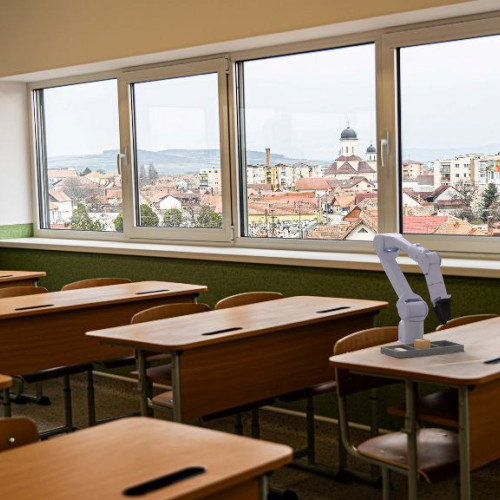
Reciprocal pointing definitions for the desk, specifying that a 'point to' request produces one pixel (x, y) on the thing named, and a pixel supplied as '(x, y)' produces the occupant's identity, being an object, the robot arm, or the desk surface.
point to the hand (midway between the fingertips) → (445, 322)
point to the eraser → (400, 349)
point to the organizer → (435, 348)
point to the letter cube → (421, 343)
